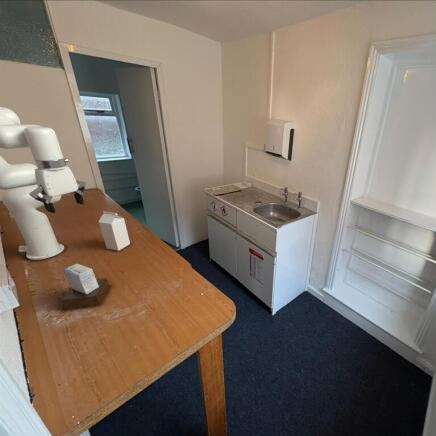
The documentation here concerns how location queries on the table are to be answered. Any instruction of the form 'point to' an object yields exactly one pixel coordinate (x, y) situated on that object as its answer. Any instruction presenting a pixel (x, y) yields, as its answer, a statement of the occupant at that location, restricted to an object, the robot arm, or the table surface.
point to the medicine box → (81, 278)
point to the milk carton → (114, 231)
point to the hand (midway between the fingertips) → (66, 207)
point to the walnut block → (85, 296)
